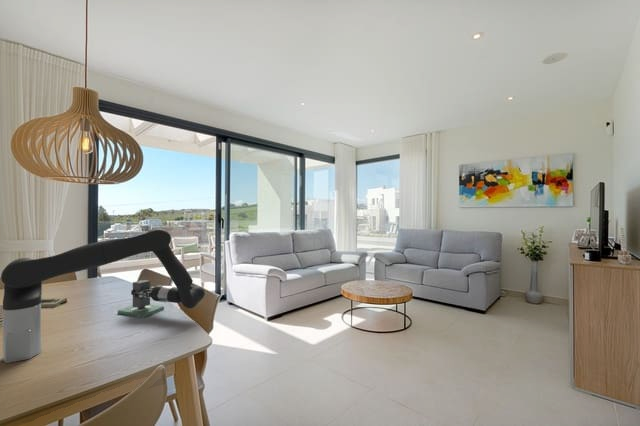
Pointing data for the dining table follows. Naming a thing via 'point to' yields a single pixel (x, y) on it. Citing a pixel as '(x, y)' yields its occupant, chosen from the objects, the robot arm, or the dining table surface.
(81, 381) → the dining table surface
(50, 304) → the computer
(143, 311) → the board
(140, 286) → the block
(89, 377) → the dining table surface
